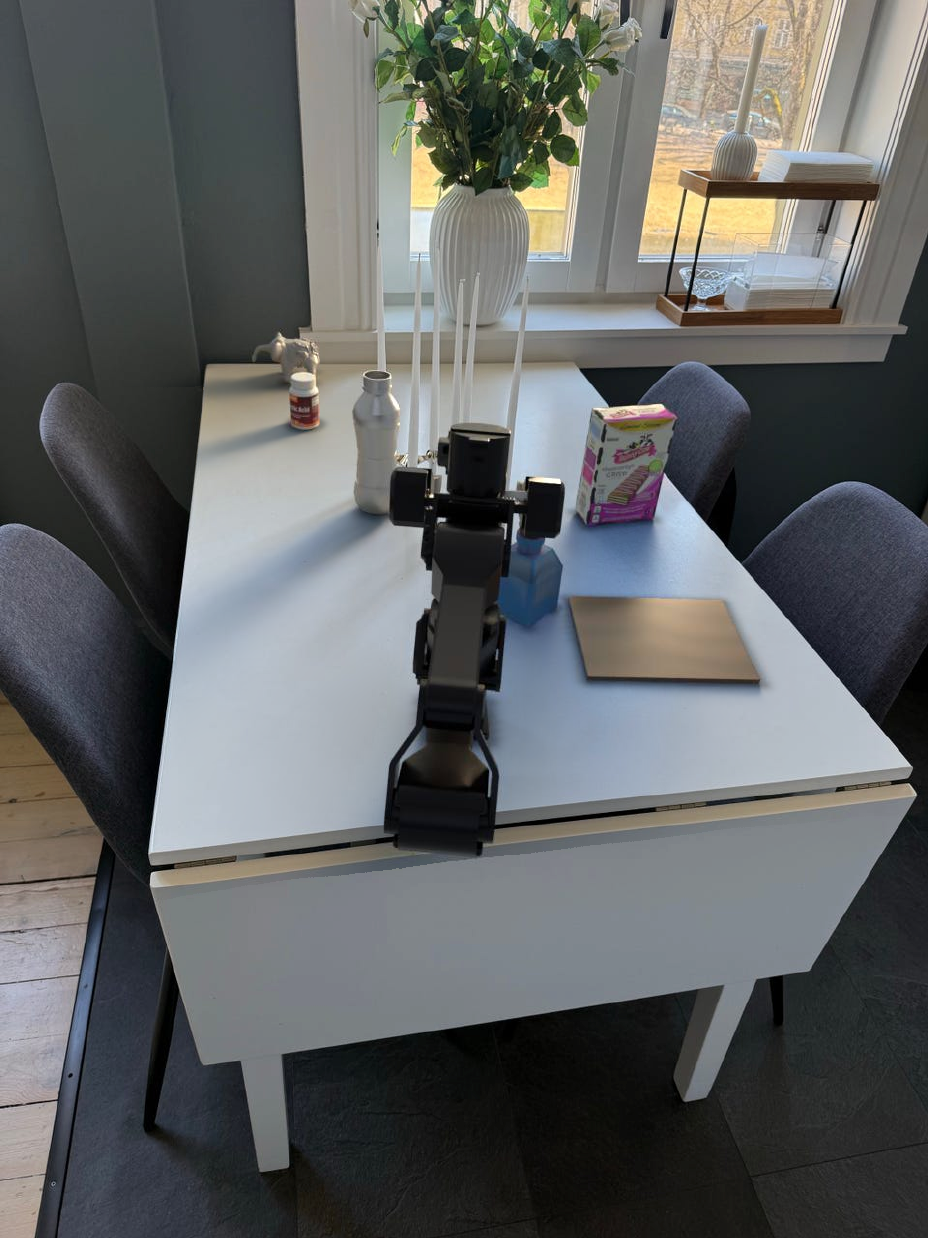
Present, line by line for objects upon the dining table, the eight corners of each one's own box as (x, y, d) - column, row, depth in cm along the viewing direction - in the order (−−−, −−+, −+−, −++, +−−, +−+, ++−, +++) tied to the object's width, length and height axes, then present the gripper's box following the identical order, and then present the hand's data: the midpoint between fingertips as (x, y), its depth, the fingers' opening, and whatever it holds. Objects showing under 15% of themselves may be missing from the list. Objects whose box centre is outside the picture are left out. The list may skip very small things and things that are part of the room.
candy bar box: (587, 528, 131) (604, 421, 122) (573, 511, 135) (589, 406, 125) (656, 520, 134) (678, 415, 125) (641, 504, 138) (661, 401, 129)
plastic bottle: (393, 522, 129) (396, 387, 118) (347, 515, 130) (345, 380, 118) (405, 501, 134) (408, 369, 123) (360, 494, 135) (359, 363, 124)
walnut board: (759, 683, 105) (760, 679, 104) (586, 680, 103) (587, 676, 103) (721, 603, 118) (722, 599, 117) (567, 599, 116) (568, 595, 116)
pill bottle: (286, 427, 153) (283, 379, 148) (298, 416, 156) (296, 369, 151) (312, 432, 152) (310, 383, 147) (324, 421, 155) (322, 373, 150)
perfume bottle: (517, 587, 118) (526, 505, 111) (557, 607, 115) (569, 524, 108) (487, 607, 114) (495, 523, 107) (527, 628, 111) (538, 543, 104)
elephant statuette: (327, 384, 169) (326, 343, 164) (263, 391, 164) (260, 349, 160) (312, 366, 175) (310, 326, 171) (250, 373, 171) (247, 332, 166)
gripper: (574, 451, 89) (566, 419, 103) (384, 436, 90) (402, 406, 104) (562, 559, 94) (555, 514, 108) (381, 544, 94) (398, 501, 108)
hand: (479, 482), depth 107 cm, fingers open, 9 cm apart
